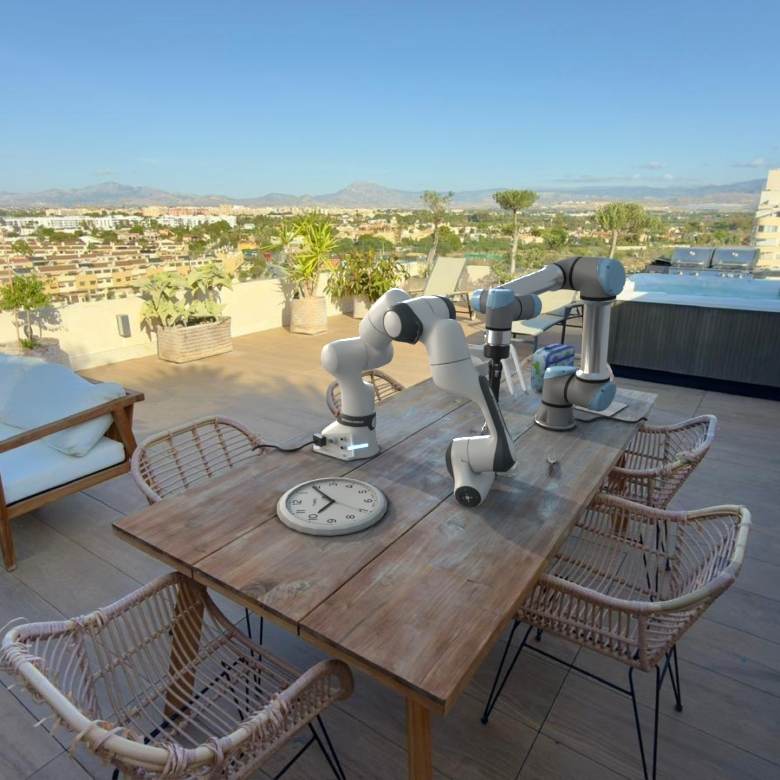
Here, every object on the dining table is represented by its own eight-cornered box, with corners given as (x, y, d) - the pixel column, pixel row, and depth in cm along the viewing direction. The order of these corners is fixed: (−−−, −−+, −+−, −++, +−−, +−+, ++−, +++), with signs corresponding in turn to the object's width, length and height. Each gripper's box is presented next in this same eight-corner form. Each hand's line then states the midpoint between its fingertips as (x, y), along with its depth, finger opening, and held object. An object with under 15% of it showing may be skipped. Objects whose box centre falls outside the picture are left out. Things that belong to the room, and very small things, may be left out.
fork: (545, 476, 161) (545, 470, 161) (548, 456, 176) (549, 450, 175) (553, 477, 160) (554, 471, 160) (556, 457, 175) (557, 452, 174)
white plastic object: (461, 429, 252) (437, 405, 227) (444, 352, 274) (420, 323, 250) (535, 404, 240) (518, 377, 215) (510, 326, 262) (492, 293, 237)
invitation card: (608, 416, 214) (573, 407, 224) (608, 416, 214) (573, 408, 224) (628, 404, 229) (594, 396, 238) (628, 405, 229) (594, 397, 238)
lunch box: (547, 395, 239) (552, 351, 233) (526, 390, 247) (530, 347, 240) (574, 384, 257) (579, 343, 251) (554, 380, 264) (558, 339, 258)
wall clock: (392, 527, 129) (268, 531, 127) (391, 533, 130) (269, 537, 127) (383, 473, 158) (282, 475, 155) (383, 478, 158) (282, 480, 156)
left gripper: (517, 468, 146) (523, 449, 158) (446, 456, 153) (457, 439, 165) (515, 488, 148) (521, 468, 160) (445, 476, 154) (456, 457, 167)
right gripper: (482, 337, 160) (477, 409, 167) (485, 349, 144) (479, 428, 151) (507, 338, 159) (501, 410, 166) (513, 350, 143) (506, 430, 150)
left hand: (488, 453), depth 163 cm, fingers closed on bottle, 5 cm apart
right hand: (491, 419), depth 158 cm, fingers closed on cap, 4 cm apart
